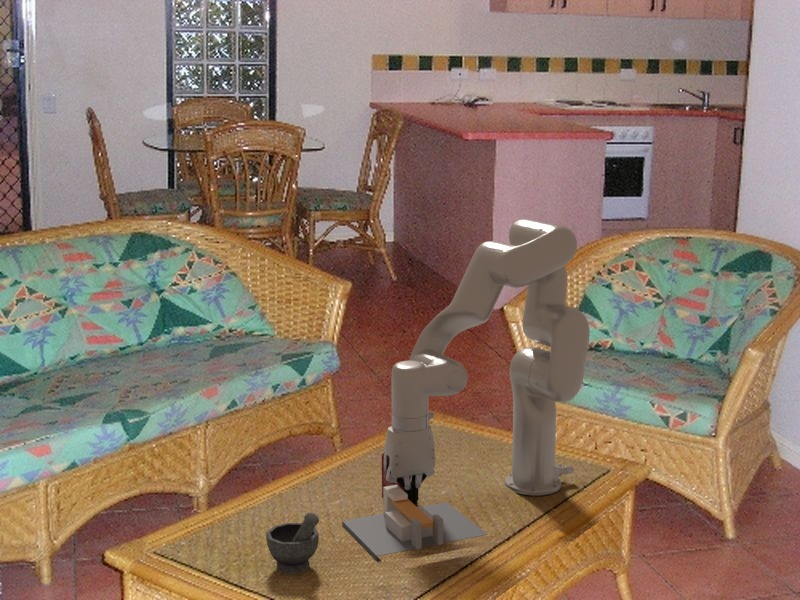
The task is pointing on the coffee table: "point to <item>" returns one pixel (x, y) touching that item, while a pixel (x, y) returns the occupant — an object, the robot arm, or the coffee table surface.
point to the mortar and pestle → (293, 544)
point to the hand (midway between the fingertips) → (410, 504)
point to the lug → (392, 497)
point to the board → (390, 543)
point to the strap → (413, 512)
